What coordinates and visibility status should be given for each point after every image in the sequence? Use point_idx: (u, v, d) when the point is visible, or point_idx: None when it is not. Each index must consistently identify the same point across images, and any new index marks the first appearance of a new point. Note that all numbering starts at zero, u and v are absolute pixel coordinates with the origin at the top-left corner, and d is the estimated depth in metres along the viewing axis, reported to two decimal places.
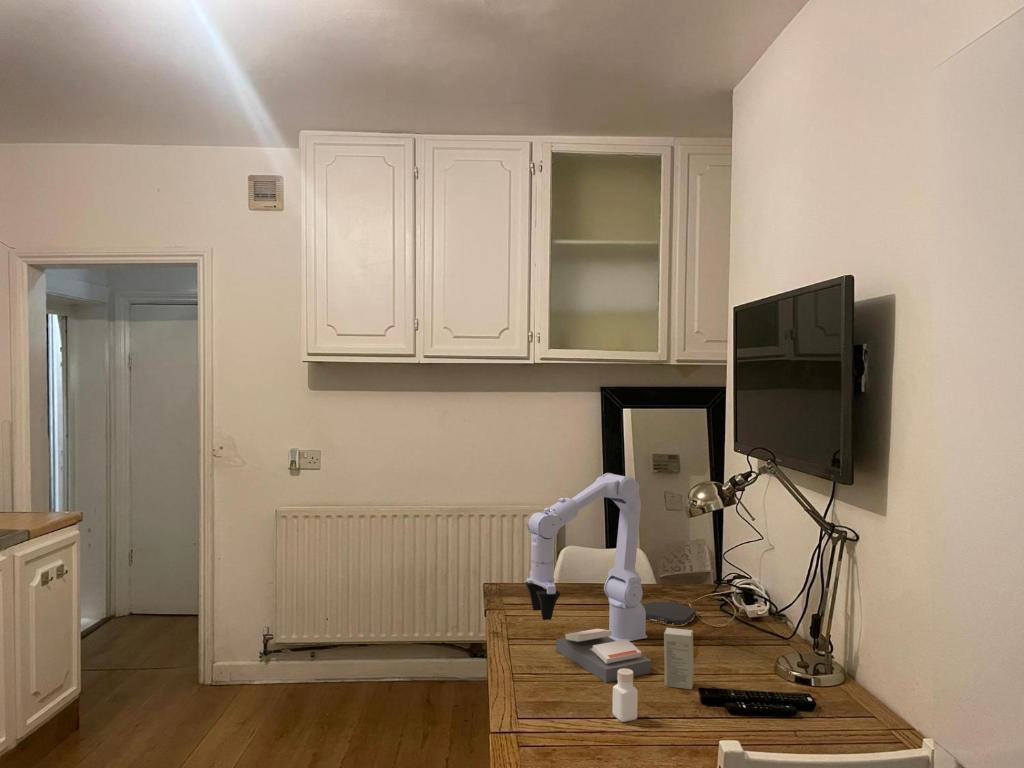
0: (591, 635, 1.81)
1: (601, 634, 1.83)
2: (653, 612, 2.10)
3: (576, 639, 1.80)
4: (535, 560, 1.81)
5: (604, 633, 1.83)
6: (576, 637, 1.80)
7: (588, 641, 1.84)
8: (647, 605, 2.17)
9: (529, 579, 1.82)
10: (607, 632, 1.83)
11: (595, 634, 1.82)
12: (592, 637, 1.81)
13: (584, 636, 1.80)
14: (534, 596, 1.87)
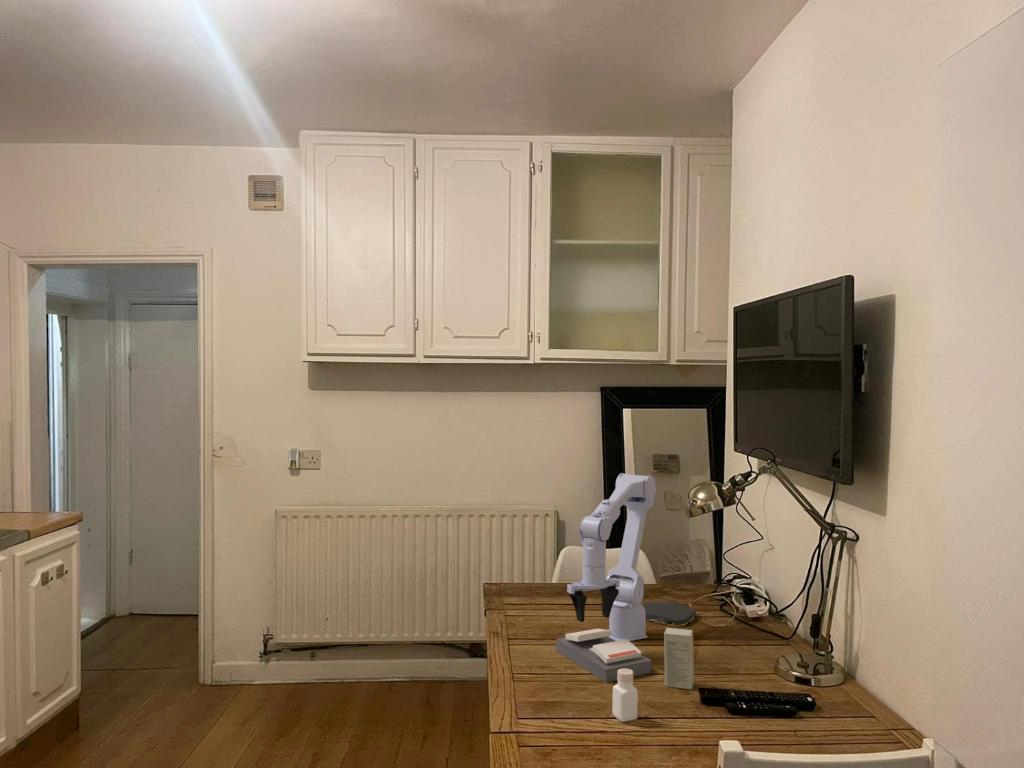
0: (591, 635, 1.81)
1: (601, 634, 1.83)
2: (653, 612, 2.10)
3: (576, 639, 1.80)
4: (592, 564, 1.79)
5: (604, 633, 1.83)
6: (576, 637, 1.80)
7: (588, 641, 1.84)
8: (647, 605, 2.17)
9: None
10: (607, 632, 1.83)
11: (595, 634, 1.82)
12: (592, 637, 1.81)
13: (584, 636, 1.80)
14: (603, 601, 1.85)
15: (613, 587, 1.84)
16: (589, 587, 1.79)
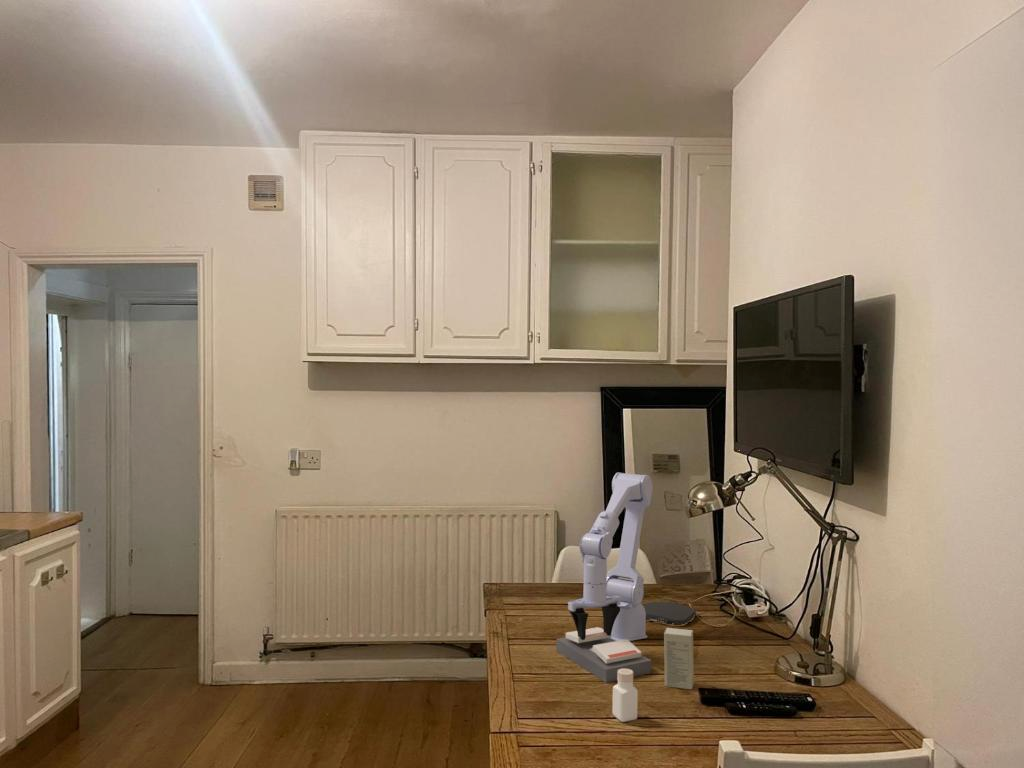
0: (591, 637, 1.81)
1: (601, 636, 1.82)
2: (653, 612, 2.10)
3: (576, 640, 1.80)
4: (593, 582, 1.79)
5: (605, 635, 1.83)
6: (576, 638, 1.80)
7: (588, 641, 1.84)
8: (647, 605, 2.17)
9: None
10: None
11: (595, 636, 1.82)
12: (592, 638, 1.81)
13: None
14: (605, 619, 1.84)
15: (614, 605, 1.84)
16: (590, 604, 1.78)
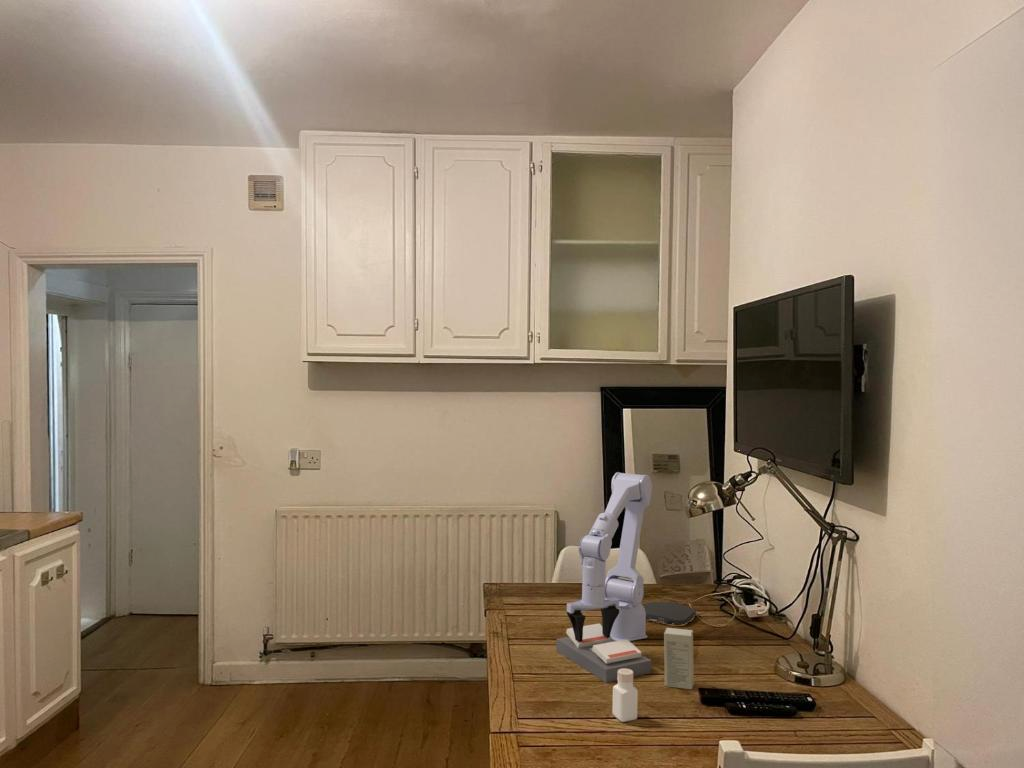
0: (592, 642, 1.81)
1: (602, 641, 1.82)
2: (653, 612, 2.10)
3: (576, 644, 1.80)
4: (592, 584, 1.79)
5: (605, 640, 1.83)
6: (577, 643, 1.80)
7: None
8: (647, 605, 2.17)
9: None
10: (608, 639, 1.83)
11: (596, 641, 1.81)
12: (592, 644, 1.81)
13: (585, 643, 1.80)
14: (604, 621, 1.84)
15: (614, 607, 1.84)
16: (588, 606, 1.79)
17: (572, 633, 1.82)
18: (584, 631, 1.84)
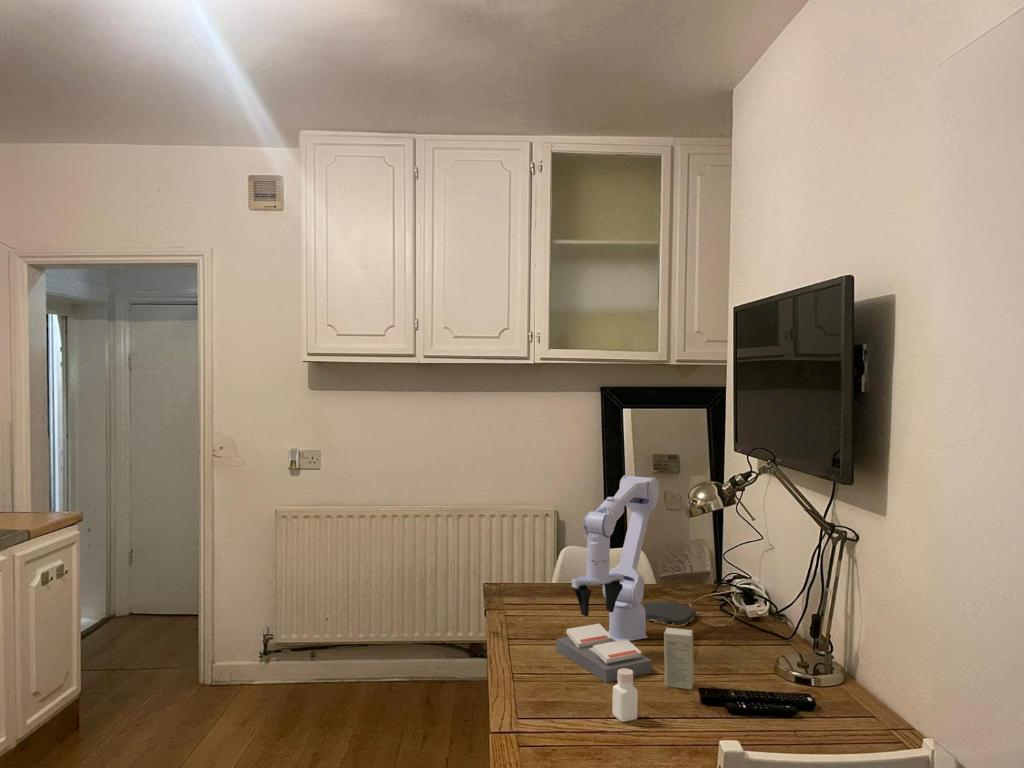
0: (592, 642, 1.81)
1: (602, 641, 1.82)
2: (653, 612, 2.10)
3: (576, 644, 1.80)
4: (596, 559, 1.81)
5: (605, 640, 1.83)
6: (577, 642, 1.80)
7: None
8: (647, 605, 2.17)
9: None
10: (608, 639, 1.83)
11: (596, 641, 1.81)
12: (592, 643, 1.81)
13: (585, 643, 1.80)
14: (607, 596, 1.86)
15: (617, 582, 1.86)
16: (593, 582, 1.81)
17: (572, 633, 1.82)
18: (584, 631, 1.84)
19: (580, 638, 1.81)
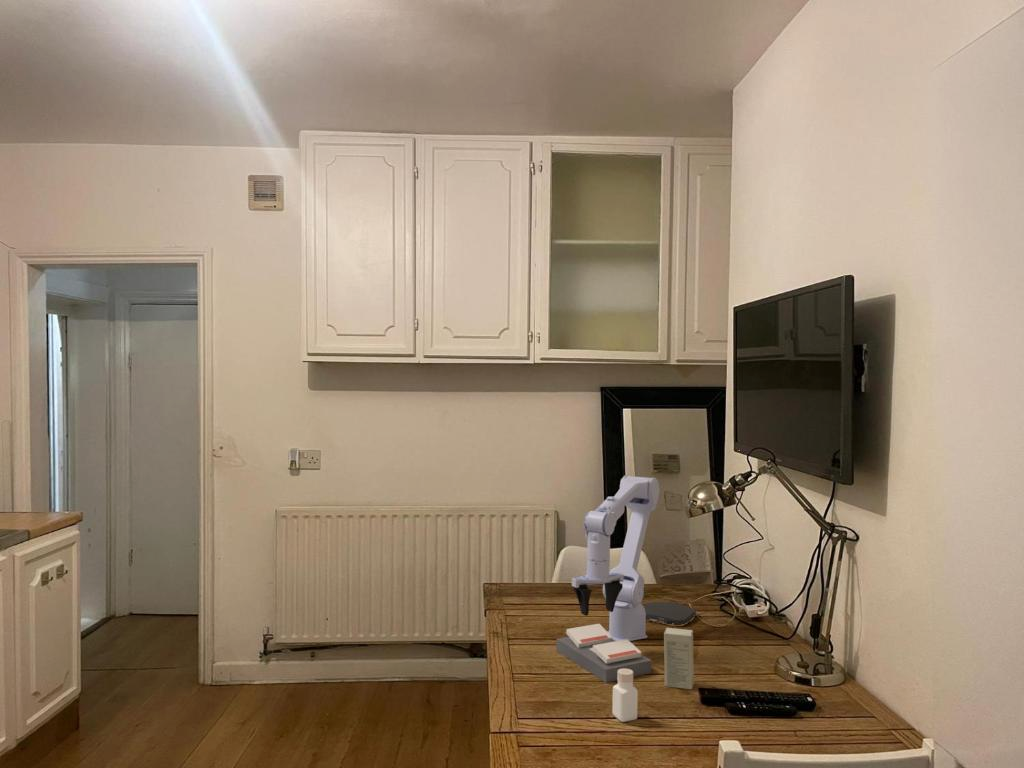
0: (592, 642, 1.81)
1: (602, 641, 1.82)
2: (653, 612, 2.10)
3: (576, 644, 1.80)
4: (596, 558, 1.81)
5: (605, 640, 1.83)
6: (577, 642, 1.80)
7: None
8: (647, 605, 2.17)
9: None
10: (608, 639, 1.83)
11: (596, 641, 1.81)
12: (592, 643, 1.81)
13: (585, 643, 1.80)
14: (607, 595, 1.86)
15: (617, 581, 1.86)
16: (593, 581, 1.81)
17: (572, 633, 1.82)
18: (584, 631, 1.84)
19: (580, 638, 1.81)
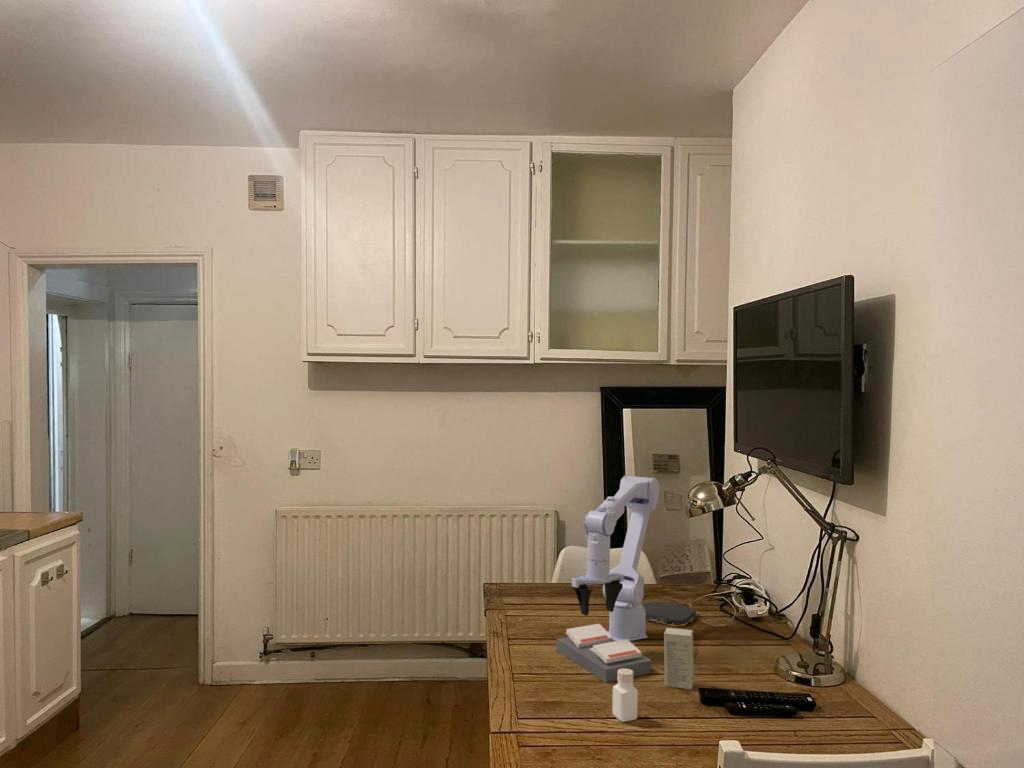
0: (592, 642, 1.81)
1: (602, 641, 1.82)
2: (653, 612, 2.10)
3: (576, 644, 1.80)
4: (596, 558, 1.81)
5: (605, 640, 1.83)
6: (577, 642, 1.80)
7: None
8: (647, 605, 2.17)
9: None
10: (608, 639, 1.83)
11: (596, 641, 1.81)
12: (592, 643, 1.81)
13: (585, 643, 1.80)
14: (607, 595, 1.86)
15: (617, 581, 1.86)
16: (593, 581, 1.81)
17: (572, 633, 1.82)
18: (584, 631, 1.84)
19: (580, 638, 1.81)
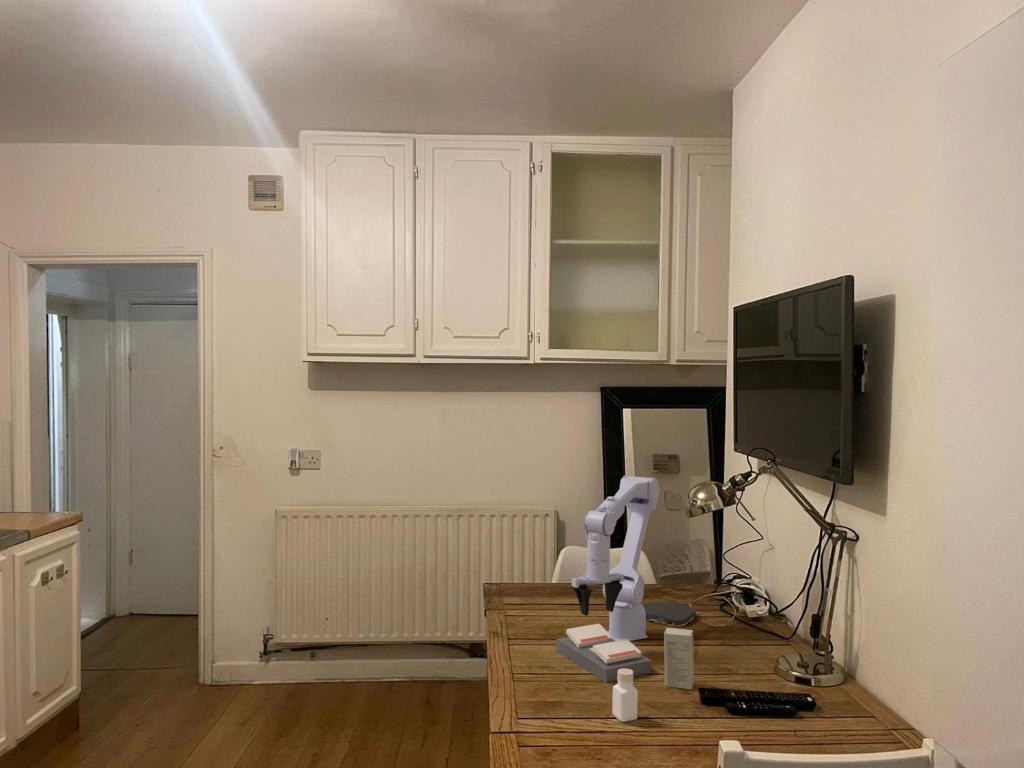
0: (592, 642, 1.81)
1: (602, 641, 1.82)
2: (653, 612, 2.10)
3: (576, 644, 1.80)
4: (596, 558, 1.81)
5: (605, 640, 1.83)
6: (577, 642, 1.80)
7: None
8: (647, 605, 2.17)
9: None
10: (608, 639, 1.83)
11: (596, 641, 1.81)
12: (592, 643, 1.81)
13: (585, 643, 1.80)
14: (607, 595, 1.86)
15: (617, 581, 1.86)
16: (593, 581, 1.81)
17: (572, 633, 1.82)
18: (584, 631, 1.84)
19: (580, 638, 1.81)
